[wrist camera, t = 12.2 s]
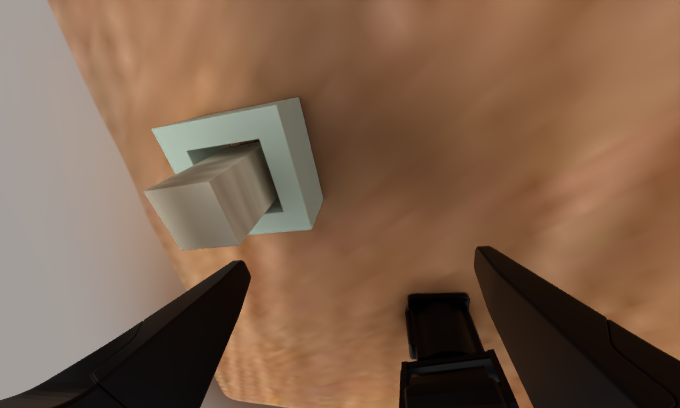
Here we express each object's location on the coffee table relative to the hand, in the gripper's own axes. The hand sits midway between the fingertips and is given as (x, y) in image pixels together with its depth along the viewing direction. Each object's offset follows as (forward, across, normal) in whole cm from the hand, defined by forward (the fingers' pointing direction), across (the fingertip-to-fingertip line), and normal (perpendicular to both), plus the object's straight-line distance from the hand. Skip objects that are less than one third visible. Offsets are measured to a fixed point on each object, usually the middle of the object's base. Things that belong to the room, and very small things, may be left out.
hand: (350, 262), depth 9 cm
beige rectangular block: (+13, +9, -1) cm, 16 cm away
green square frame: (+13, +9, -1) cm, 16 cm away
